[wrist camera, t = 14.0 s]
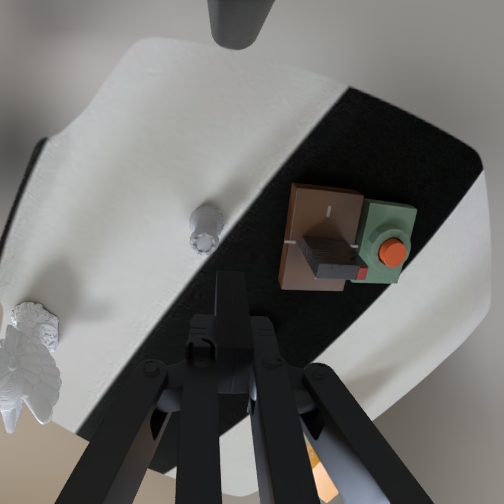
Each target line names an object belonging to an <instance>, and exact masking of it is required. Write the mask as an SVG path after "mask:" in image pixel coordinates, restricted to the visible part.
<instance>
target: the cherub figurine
mask: <svg viewBox="0 0 504 504" xmlns="http://www.w3.org/2000/svg"><path fill="white" fill-rule="evenodd" d="M11 313H12V315H11V319H12V320H13V322H14V326H12V325H8V326H7V328H6V334H5V339H1V340H0V343H1V348H0V412H2V417H3V421H4V426H5V429H6V431H7V433H13V432H14V430H15V427H16V423H17V419H18V418H19V416H20V414H21V411H22V406H23V403H24V402H25V403H26V404H27V406H28V407H29V409H30V410H31V411H32V413H33V414H34V416H35V417H36V419H37V420H38V421H39V422H40V423H41V424H46V423H48V422H49V421H50V419H51V417H52V410H53V406H54V405H55V404H56V403H57V401H58V399H59V390H60V387H61V383H62V382H61V378H60V371H59V369H58V367H56V363H55V360H54V358H53V357H52V356H51V355H50V352H55V350H56V349H55V348H56V346H57V345H58V322H59V319H58V318H57V316H54V315H52V314H50V313H49V312H48V311H46V310H45V309H44V308H43V306H42V305H41V304H39V303H38V304H34V303H33V302H27V303H26V302H22V303H21V304H20V305H17V306H16V307H15V309H14V310H12V312H11Z"/></svg>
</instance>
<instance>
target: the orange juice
mask: <svg viewBox="0 0 504 504" xmlns="http://www.w3.org/2000/svg"><path fill="white" fill-rule="evenodd" d="M303 434H304V432H303ZM304 438H305V442H306V446H307V450H308V454H309V458H310V462H311V466H312V471H313V475H314V479H315V483H316V487H317V491H318V495H319V497H320V498H321V499H322V500H323V501H325V502H326V503H327V502H328V501H330V500H331V499H332V498H333V497H334V496H336V495H337V494H338V493H339V492H338V490H337V489H336V487H335V485H334V484H333V482H332V480H331V479H330V477H329V475H328V474H327V472H326V470H325V469H324V467H323V465H322V463H321V462H320V460H319V458H318V457H317V455H316V453H315V451H314V450H313V448H312V446H311V444H310V443H309V441H308V439H307V438H306V436H305V434H304Z"/></svg>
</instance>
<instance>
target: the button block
mask: <svg viewBox="0 0 504 504" xmlns="http://www.w3.org/2000/svg"><path fill="white" fill-rule="evenodd" d="M416 213H417V209H416V208H414V207H413V206H411V205H407V204H401V203H394V202H387V201H380V200H372V199H364V201H363V206H362V212H361V216H360V221H359V226H358V231H357V235H356V240H355V244H354V245H358V248H354V250H355V251H356V252H357V253H358V254H359V256H360V257H361V258H362V259H363V260H364V261H365V262H366V264H367V265H368V266H369V268H368V271H367V275H366V279H365V280H351V282H358V283H397V282H398V279H399V276H400V272H401V269H402V266H403V263H404V262H405V261H406V260H407V258H408V256H409V252H410V249H411V244H410V237H411V233H412V229H413V225H414V221H415V217H416ZM390 238H395V239H397V240H398V241H400V242H401V243H402V244H403V245H404V246H405V247H406V252H407V253H406V257H405V259H404V261H403V262H402V263H401V264H400V265H398V266H396V267H389V266H387V265H386V264H385V263H384V262H383V261H382V260H381V258H380V256H379V249H380V246H381V245H382V243H383V242H384V241H386V240H387V239H390Z"/></svg>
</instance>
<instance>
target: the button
mask: <svg viewBox="0 0 504 504" xmlns="http://www.w3.org/2000/svg"><path fill="white" fill-rule="evenodd" d="M406 253H407V252H406V247H405V246H404V245H403V244H402V243H401V242H400V241H398V240H397V239H395V238H390V239H387V240H386V241H384V242H383V243H382V245H381V246H380V249H379V256H380V258H381V260H382V261H383V262H384V263H385V264H386V265H387V266H389V267H396V266H398V265H400V264H401V263H402V262H403V261H404V259H405V257H406Z"/></svg>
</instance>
